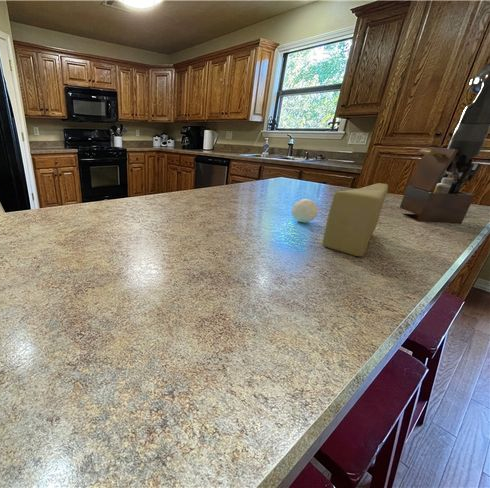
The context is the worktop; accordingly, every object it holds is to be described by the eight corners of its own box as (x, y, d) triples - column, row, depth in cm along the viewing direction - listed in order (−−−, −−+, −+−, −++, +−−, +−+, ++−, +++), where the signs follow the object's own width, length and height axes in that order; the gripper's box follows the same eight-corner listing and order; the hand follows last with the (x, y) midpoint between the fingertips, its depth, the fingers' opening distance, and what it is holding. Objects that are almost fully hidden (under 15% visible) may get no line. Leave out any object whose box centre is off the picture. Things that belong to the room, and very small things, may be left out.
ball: (294, 229, 90) (282, 209, 89) (306, 217, 94) (295, 198, 93) (315, 225, 84) (302, 203, 83) (327, 212, 87) (315, 191, 86)
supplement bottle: (433, 205, 97) (445, 176, 93) (453, 209, 92) (466, 179, 88) (423, 206, 95) (435, 177, 91) (443, 210, 90) (456, 180, 86)
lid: (430, 147, 92) (415, 144, 92) (458, 149, 82) (441, 146, 82) (408, 185, 98) (394, 182, 98) (432, 191, 87) (416, 188, 87)
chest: (435, 213, 100) (446, 187, 96) (461, 223, 89) (475, 194, 85) (397, 212, 102) (407, 186, 98) (418, 221, 91) (430, 193, 87)
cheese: (351, 228, 84) (365, 180, 78) (388, 237, 77) (408, 185, 71) (319, 245, 71) (333, 189, 65) (361, 258, 64) (382, 197, 58)
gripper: (503, 140, 78) (476, 197, 84) (462, 139, 91) (441, 188, 97) (473, 140, 79) (449, 196, 86) (436, 138, 92) (418, 187, 99)
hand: (445, 192), depth 91 cm, fingers closed on supplement bottle, 5 cm apart
